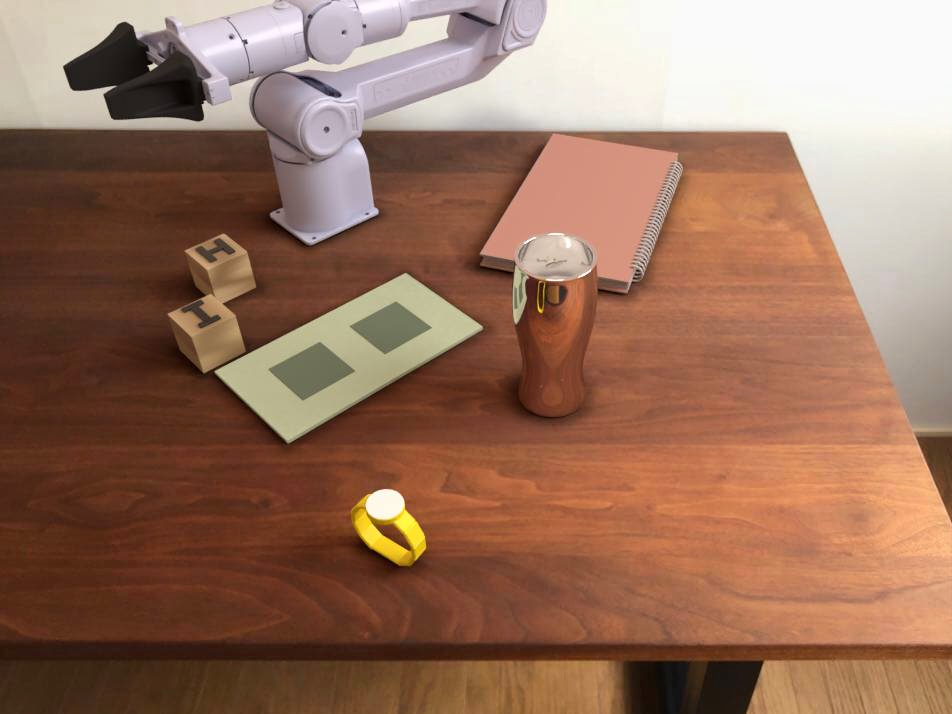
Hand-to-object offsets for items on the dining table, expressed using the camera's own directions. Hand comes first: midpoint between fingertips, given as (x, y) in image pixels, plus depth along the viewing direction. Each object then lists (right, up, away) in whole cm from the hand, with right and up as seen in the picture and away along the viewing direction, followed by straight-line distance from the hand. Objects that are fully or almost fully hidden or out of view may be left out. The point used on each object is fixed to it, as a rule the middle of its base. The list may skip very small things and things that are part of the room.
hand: (87, 92), depth 75 cm
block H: (+6, -14, +16) cm, 22 cm away
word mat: (+21, -21, +9) cm, 31 cm away
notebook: (+44, -5, +26) cm, 51 cm away
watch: (+27, -38, -8) cm, 47 cm away
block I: (+8, -21, +8) cm, 24 cm away
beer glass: (+39, -26, +5) cm, 47 cm away
